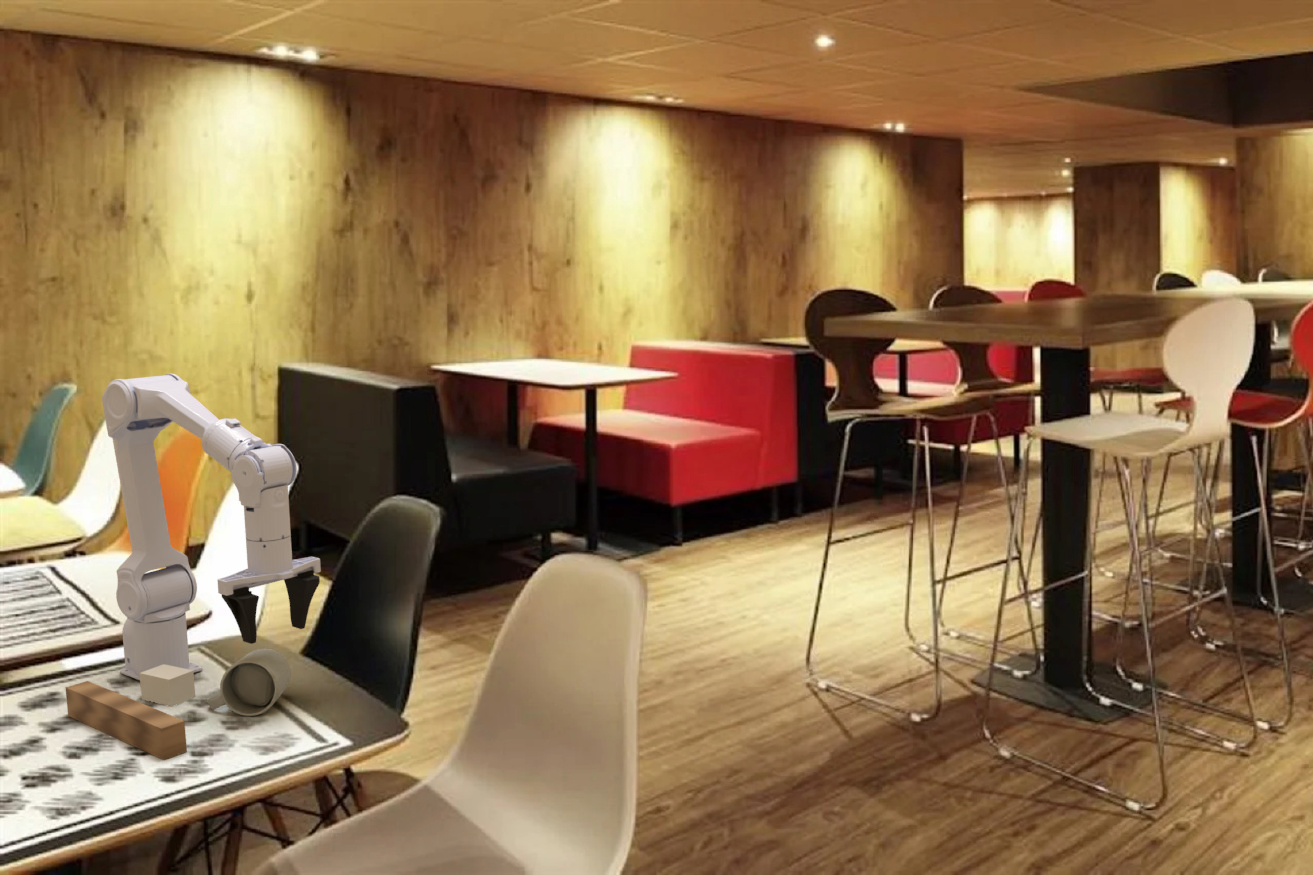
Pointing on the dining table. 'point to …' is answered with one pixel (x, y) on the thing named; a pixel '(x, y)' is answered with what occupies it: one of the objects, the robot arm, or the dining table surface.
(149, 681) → the beige rectangular block
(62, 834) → the dining table surface
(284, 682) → the ceramic mug
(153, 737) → the walnut rail
